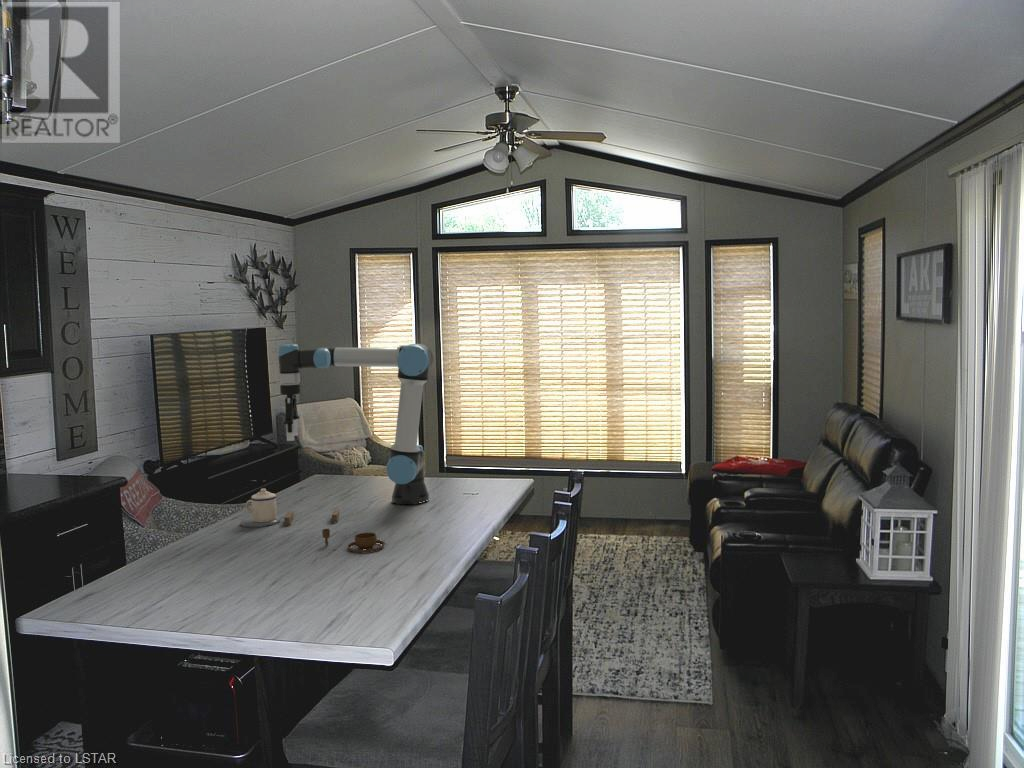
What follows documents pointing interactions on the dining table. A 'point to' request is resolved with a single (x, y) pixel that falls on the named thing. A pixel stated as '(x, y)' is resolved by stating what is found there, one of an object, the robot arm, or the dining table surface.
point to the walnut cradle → (289, 516)
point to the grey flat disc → (251, 523)
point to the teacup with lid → (263, 506)
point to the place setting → (359, 541)
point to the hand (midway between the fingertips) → (292, 438)
